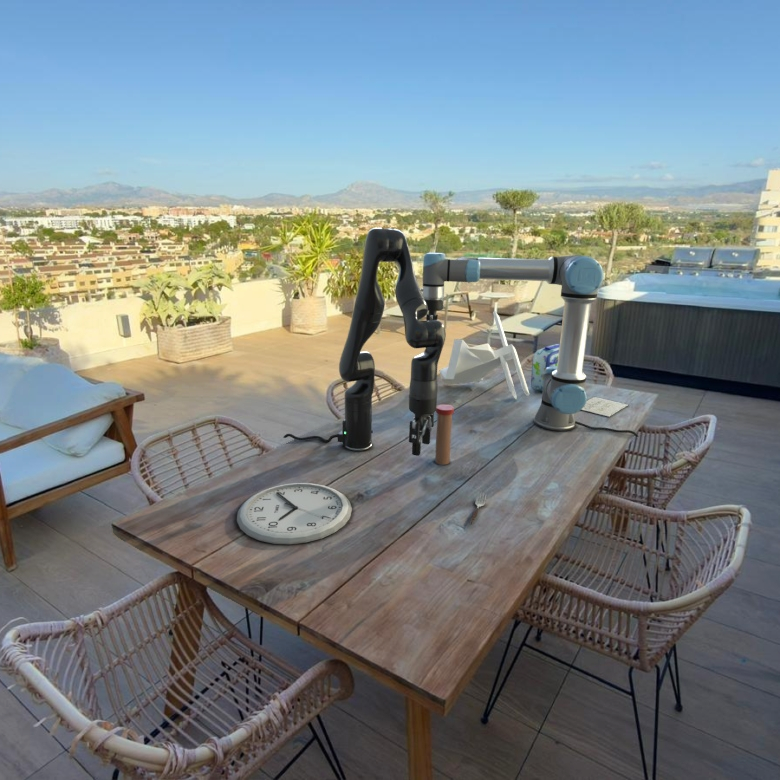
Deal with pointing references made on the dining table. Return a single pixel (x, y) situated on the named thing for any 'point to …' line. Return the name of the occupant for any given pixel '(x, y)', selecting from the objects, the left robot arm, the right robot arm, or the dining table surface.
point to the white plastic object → (482, 362)
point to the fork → (478, 503)
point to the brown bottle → (443, 439)
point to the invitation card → (603, 406)
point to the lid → (445, 409)
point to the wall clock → (294, 513)
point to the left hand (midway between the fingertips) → (421, 449)
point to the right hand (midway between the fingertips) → (430, 357)
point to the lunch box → (543, 364)
